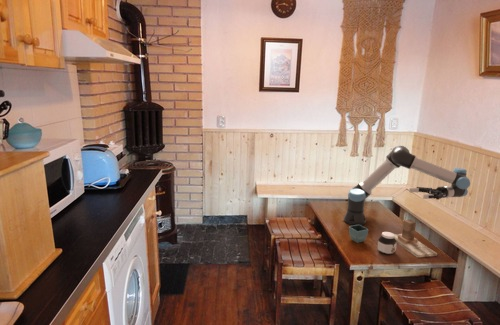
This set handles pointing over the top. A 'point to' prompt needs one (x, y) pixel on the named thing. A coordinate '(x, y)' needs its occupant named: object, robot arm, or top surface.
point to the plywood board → (416, 248)
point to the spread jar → (387, 243)
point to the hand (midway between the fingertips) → (416, 193)
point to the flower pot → (358, 233)
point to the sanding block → (408, 232)
